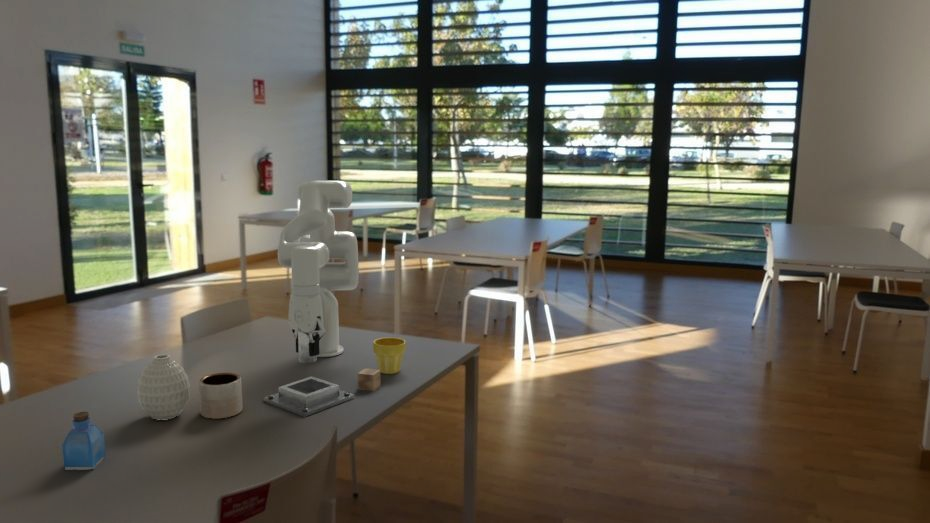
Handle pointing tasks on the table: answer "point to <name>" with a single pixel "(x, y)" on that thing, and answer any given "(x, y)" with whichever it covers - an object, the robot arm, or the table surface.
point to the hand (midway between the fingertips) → (307, 352)
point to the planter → (220, 395)
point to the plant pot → (389, 354)
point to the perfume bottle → (83, 443)
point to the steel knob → (304, 347)
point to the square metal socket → (308, 396)
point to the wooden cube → (369, 379)
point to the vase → (163, 388)
